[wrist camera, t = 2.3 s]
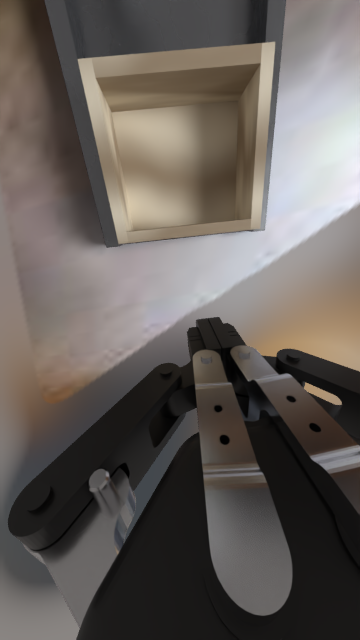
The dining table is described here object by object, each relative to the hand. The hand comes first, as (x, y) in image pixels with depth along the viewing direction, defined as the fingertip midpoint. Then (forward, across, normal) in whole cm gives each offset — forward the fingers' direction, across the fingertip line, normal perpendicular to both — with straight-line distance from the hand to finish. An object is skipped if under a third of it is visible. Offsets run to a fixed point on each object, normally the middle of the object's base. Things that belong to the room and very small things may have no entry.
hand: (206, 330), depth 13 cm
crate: (+11, 0, -11) cm, 15 cm away
